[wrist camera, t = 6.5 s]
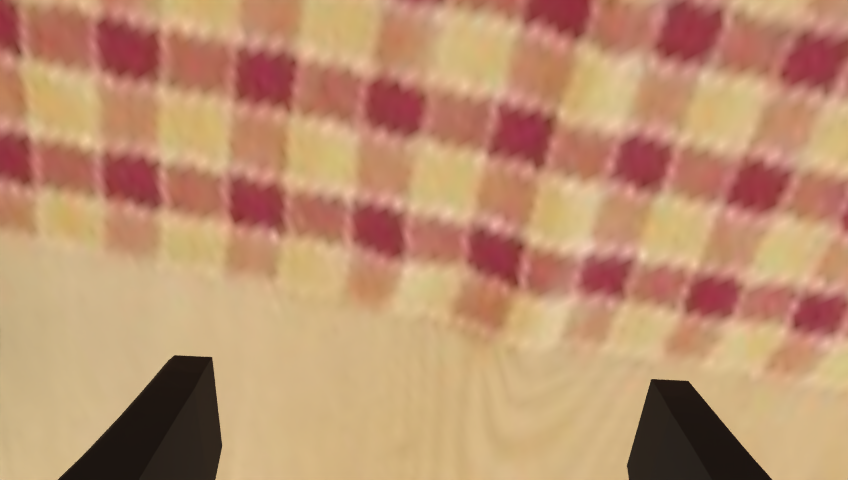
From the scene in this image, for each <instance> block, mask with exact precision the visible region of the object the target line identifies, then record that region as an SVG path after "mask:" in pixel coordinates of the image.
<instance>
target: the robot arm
mask: <svg viewBox="0 0 848 480" xmlns="http://www.w3.org/2000/svg"><path fill="white" fill-rule="evenodd" d="M221 449H222V441H221V432H220V423H219V414H218V405H217V396H216V387H215V379H214V370H213V361H212V357H196V356H176V355H175V356H173V357H172V358H171V359H170V360H168V362H167V363H166V364H165V365H164V366H163V367H162V369H161V370H160V371H159V372H158V373H157V375H156V376H155V377H154V378H153V379H152V380H151V382H150V383H149V384H148V385H147V386H146V387H145V389H144V390H143V391H142V392H141V393H140V394H139V395H138V397H137V398H136V399H135V400H134V401H133V402H132V403H131V405H130V406H129V407H128V408H127V409H126V410H125V411H124V412H123V413H122V415H121V416H120V417H119V418H118V419H117V420H116V421H115V422H114V423H113V424H112V425H111V426H110V427H109V429H108V430H107V431H106V432H105V433H104V434H103V435H102V436H101V437H100V438H99V439H98V440H97V441H96V442H95V443H94V444H93V446H92V447H91V448H90V449H89V450H88V451H87V452H86V453H85V454H84V455H83V456H82V457H81V458H80V459H79V460H78V461H77V462H76V463H75V464H74V465H73V466H71V467H70V468H69V469H68V470H67V471H66V472H65V473H64V474H63V475H62V476H61V477H60V478H59V479H58V480H215V478H216V473H217V469H218V464H219V459H220V454H221ZM627 468H628V475H629V480H772V479H771V478H770V477H769V476H768V474H767V473H766V472H765V471H764V470H763V469H762V468H761V467H760V465H759V464H758V463H757V462H756V461H755V460H754V459H753V458H752V456H751V455H750V454H749V453H748V452H747V451H746V449H745V448H744V447H743V446H742V445H741V444H740V442H739V441H738V440H737V439H736V438H735V436H734V435H733V434H732V433H731V432H730V431H729V429H728V428H727V427H726V426H725V425H724V423H723V422H722V421H721V420H720V419H719V417H718V416H717V415H716V414H715V412H714V411H713V410H712V409H711V408H710V406H709V405H708V404H707V403H706V402H705V400H704V399H703V398H702V397H701V396H700V394H699V393H698V392H697V391H696V390H695V389H694V387H693V386H692V385H691V384H690V383H689V381H678V380H657V379H651V382H650V386H649V389H648V393H647V396H646V400H645V404H644V407H643V411H642V414H641V418H640V421H639V425H638V428H637V432H636V435H635V439H634V443H633V446H632V450H631V453H630V457H629V460H628V464H627Z"/></svg>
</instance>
